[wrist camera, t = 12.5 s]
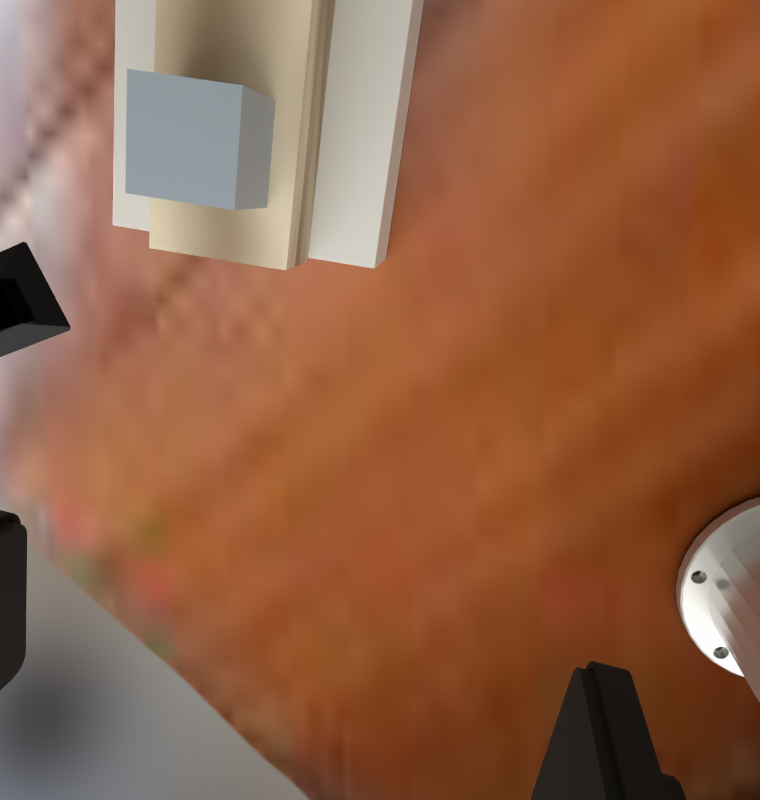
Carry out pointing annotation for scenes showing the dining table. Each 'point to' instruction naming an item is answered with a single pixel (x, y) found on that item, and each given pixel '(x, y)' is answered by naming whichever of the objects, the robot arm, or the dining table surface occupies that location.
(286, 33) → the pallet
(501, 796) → the dining table surface
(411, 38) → the dock
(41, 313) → the black piece
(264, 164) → the block
